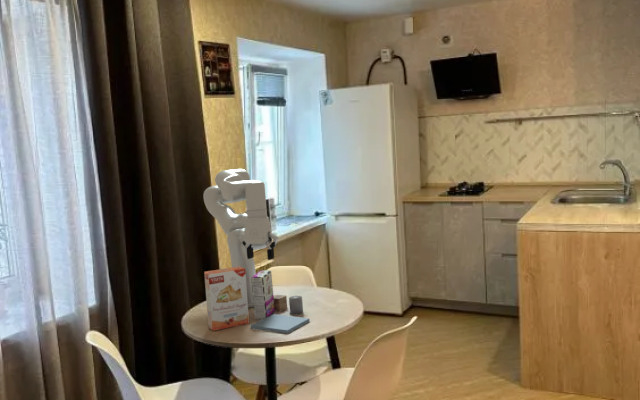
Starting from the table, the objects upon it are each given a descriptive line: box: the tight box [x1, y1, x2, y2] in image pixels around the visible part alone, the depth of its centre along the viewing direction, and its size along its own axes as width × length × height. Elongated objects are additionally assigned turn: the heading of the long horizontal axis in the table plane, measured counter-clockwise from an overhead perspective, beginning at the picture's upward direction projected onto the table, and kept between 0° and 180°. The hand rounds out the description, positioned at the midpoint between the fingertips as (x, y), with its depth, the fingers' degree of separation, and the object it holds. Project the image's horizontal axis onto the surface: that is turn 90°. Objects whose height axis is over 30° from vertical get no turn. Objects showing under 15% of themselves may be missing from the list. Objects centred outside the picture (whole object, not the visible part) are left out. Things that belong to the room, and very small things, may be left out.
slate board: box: [250, 313, 311, 334], centre depth 205 cm, size 16×14×1 cm
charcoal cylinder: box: [288, 295, 304, 316], centre depth 219 cm, size 5×5×6 cm
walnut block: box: [273, 294, 288, 312], centre depth 226 cm, size 5×5×5 cm
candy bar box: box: [251, 269, 276, 321], centre depth 218 cm, size 11×5×16 cm, turn 168°
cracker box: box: [203, 266, 250, 332], centre depth 208 cm, size 14×6×21 cm, turn 117°
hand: (260, 258), depth 216 cm, fingers open, 9 cm apart
